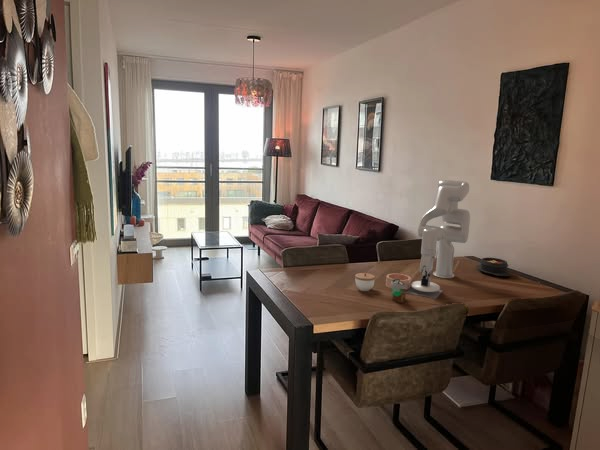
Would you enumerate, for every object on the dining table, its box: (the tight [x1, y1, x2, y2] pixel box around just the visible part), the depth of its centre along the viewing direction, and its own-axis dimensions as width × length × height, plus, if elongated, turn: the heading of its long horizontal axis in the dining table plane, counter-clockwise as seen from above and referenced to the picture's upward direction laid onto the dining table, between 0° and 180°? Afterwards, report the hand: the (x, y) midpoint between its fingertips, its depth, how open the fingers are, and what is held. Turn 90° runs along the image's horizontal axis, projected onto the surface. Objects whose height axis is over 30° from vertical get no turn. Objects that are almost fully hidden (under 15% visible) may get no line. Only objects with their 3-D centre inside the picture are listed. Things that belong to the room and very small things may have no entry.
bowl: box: [385, 273, 412, 291], centre depth 243 cm, size 13×13×6 cm
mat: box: [406, 286, 444, 300], centre depth 236 cm, size 16×16×1 cm
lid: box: [410, 275, 441, 292], centre depth 236 cm, size 15×15×6 cm
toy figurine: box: [391, 278, 408, 304], centre depth 222 cm, size 12×6×10 cm, turn 5°
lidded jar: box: [354, 272, 376, 292], centre depth 237 cm, size 11×11×9 cm
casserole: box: [475, 257, 512, 277], centre depth 280 cm, size 25×19×8 cm
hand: (425, 283), depth 236 cm, fingers closed on lid, 4 cm apart
